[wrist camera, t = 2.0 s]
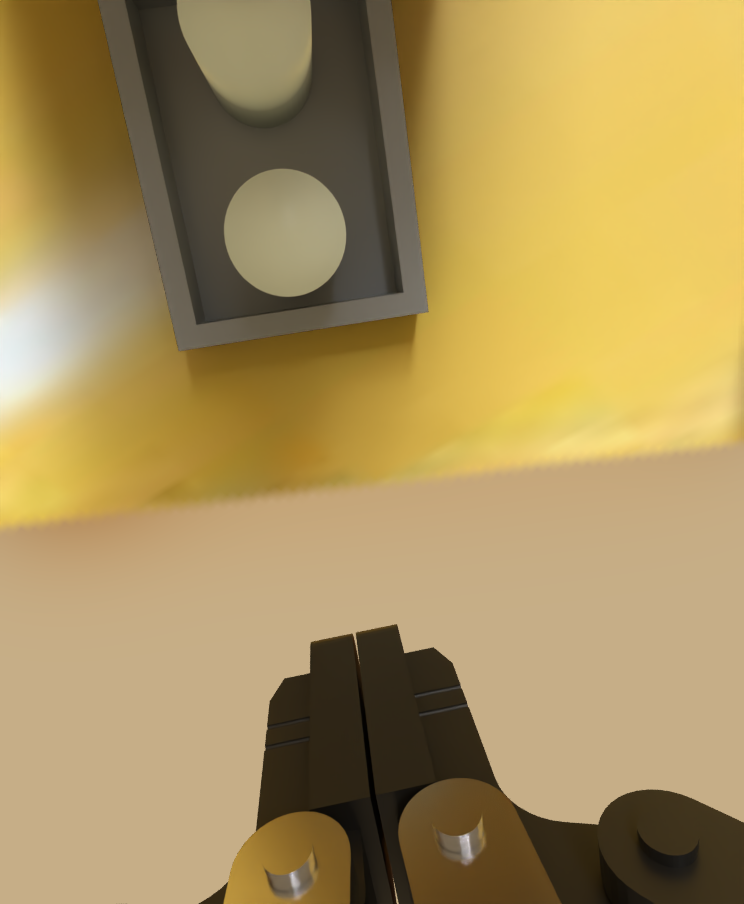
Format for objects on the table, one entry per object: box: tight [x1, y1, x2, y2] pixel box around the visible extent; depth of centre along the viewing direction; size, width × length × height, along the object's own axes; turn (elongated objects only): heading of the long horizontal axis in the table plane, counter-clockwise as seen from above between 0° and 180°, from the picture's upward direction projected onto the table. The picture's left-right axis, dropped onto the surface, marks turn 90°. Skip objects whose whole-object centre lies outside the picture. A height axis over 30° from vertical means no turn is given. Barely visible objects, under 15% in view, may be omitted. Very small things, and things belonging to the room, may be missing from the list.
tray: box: [98, 0, 428, 351], centre depth 22 cm, size 12×9×3 cm
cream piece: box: [224, 169, 346, 297], centre depth 21 cm, size 4×4×5 cm
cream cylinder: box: [177, 0, 312, 128], centre depth 19 cm, size 4×4×5 cm
